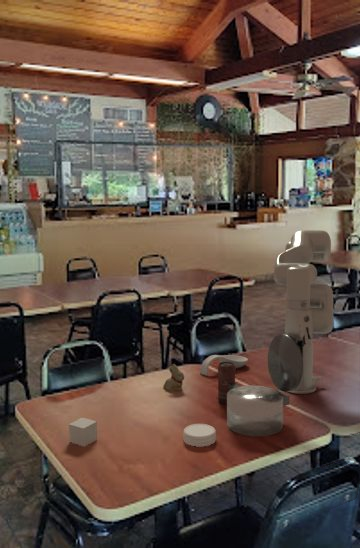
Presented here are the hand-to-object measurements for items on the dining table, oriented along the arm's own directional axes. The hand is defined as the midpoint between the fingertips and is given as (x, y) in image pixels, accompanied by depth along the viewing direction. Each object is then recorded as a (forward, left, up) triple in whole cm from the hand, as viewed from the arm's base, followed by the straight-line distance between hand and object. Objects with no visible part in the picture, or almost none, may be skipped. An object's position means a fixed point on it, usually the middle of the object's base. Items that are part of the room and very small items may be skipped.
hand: (297, 358), depth 186 cm
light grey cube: (+70, -11, -21) cm, 74 cm away
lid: (+6, 0, -1) cm, 6 cm away
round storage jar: (+15, -4, -20) cm, 25 cm away
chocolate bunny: (+28, -42, -21) cm, 54 cm away
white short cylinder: (+37, +3, -21) cm, 42 cm away
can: (+15, -22, -20) cm, 34 cm away
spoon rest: (-1, -55, -21) cm, 59 cm away
